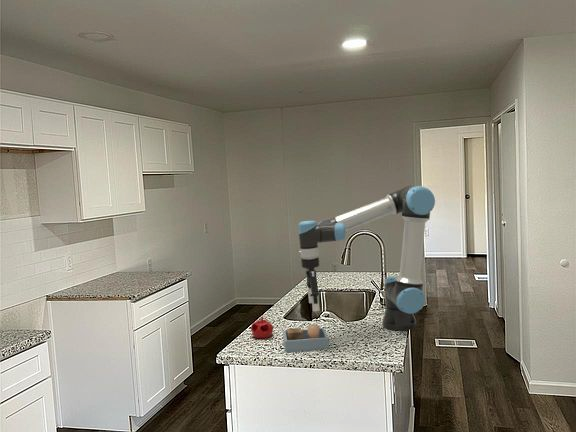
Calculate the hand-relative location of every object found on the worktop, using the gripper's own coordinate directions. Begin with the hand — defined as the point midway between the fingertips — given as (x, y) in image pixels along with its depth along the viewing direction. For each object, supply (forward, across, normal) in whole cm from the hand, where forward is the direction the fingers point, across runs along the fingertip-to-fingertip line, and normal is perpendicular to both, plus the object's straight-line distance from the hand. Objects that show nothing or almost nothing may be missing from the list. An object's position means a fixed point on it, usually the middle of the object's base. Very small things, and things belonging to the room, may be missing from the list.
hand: (314, 306), depth 219 cm
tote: (+16, +2, -5) cm, 16 cm away
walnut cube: (+15, +2, -10) cm, 18 cm away
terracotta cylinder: (+15, +2, -2) cm, 15 cm away
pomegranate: (+15, -14, -23) cm, 31 cm away
